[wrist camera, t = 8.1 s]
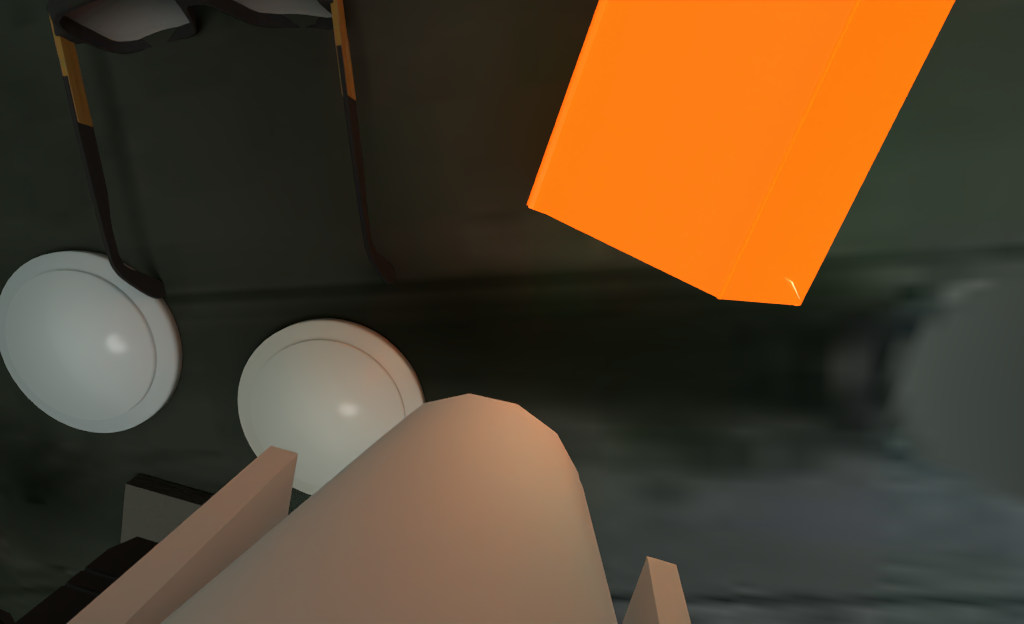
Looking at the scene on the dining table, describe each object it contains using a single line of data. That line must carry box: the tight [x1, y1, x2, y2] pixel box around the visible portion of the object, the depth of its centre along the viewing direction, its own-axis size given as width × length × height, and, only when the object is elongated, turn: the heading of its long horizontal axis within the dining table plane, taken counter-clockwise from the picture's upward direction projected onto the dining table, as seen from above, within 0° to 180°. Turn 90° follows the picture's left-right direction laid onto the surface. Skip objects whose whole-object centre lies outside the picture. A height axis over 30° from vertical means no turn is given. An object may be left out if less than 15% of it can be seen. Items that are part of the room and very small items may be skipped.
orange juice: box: [527, 0, 955, 306], centre depth 18 cm, size 8×9×20 cm
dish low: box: [0, 250, 183, 433], centre depth 33 cm, size 11×11×1 cm
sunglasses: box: [47, 0, 395, 299], centre depth 28 cm, size 14×15×5 cm
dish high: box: [238, 318, 425, 495], centre depth 32 cm, size 11×11×1 cm
